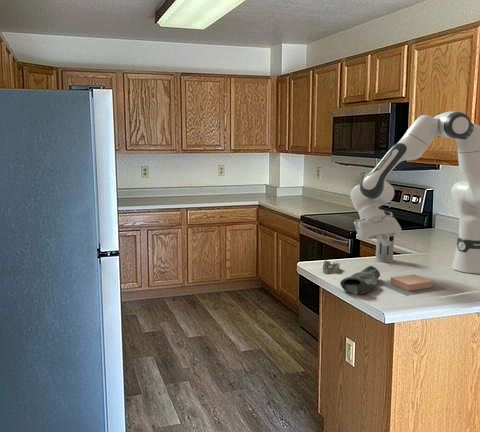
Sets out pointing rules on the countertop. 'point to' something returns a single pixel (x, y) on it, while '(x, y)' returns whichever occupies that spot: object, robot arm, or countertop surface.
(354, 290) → the detergent
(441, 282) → the countertop surface
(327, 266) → the egg carton
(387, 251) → the glass holder
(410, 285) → the tile
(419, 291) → the mat
